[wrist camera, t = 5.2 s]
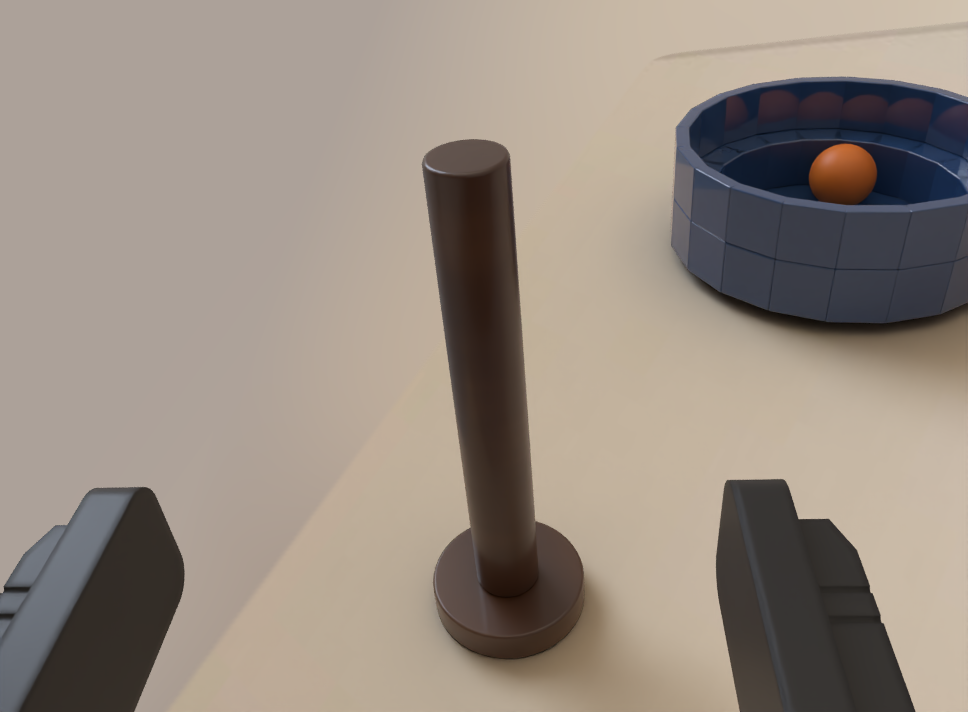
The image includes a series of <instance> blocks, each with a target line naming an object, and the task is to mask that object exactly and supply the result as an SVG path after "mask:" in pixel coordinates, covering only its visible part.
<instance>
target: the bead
mask: <svg viewBox="0 0 968 712" xmlns="http://www.w3.org/2000/svg"><path fill="white" fill-rule="evenodd" d="M876 179H877V168H876V164H875V162H874V160H873V158H872V156H871V155H870V154H869V153H868V152H867V151H866V150H864V149H863V148H861V147H859V146H856V145H853V144H839V145H835V146H832V147H829V148H828V149H826V150H824V151H823V152H822V153H821V154H820V155H819V156H818V157H817V158H816V159H815V160H814V162H813V164H812V166H811V169H810V173H809V184H810V188H811V190H812V193H813V194H814V196H815V197H816V198H817V199H818V200H819V201H820V202H827V203H834V204H842V205H856V204H858V203H860V202H861V201H863V200H864V199H865V198H866V197H867V196H868V195H869V194H870V193H871V191H872V190H873V188H874V185H875V183H876Z"/></svg>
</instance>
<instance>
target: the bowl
mask: <svg viewBox="0 0 968 712" xmlns="http://www.w3.org/2000/svg"><path fill="white" fill-rule="evenodd" d="M839 144H853V145H856V146H859V147H861V148H863V149H864V150H866V151H867V152H868V153H869V154H870V155H871V156H872V158H873V160H874V162H875V164H876V168H877V179H876V183H875V185H874V188H873V190H872V191H871V193H870V194H869V195H868V196H867V197H866V198H865V199H864V200H863V201H861V202H860V203H858V204H856V205H842V204H834V203H827V202H820V201H819V200H818V199H817V198H816V197H815V196H814V194H813V193H812V190H811V188H810V184H809V173H810V169H811V166H812V164H813V162H814V160H815V159H816V158H817V157H818V156H819V155H820V154H821V153H822V152H823V151H824V150H826V149H828V148H829V147H832V146H835V145H839ZM671 245H672V247H673V249H674V250H675V252H676V253H677V255H678V256H679V258H680V259H681V261H682V262H683V264H684V265H685V267H686V268H687V270H689V271H690V272H691V273H693V274H694V275H696V276H697V277H699V278H700V279H701V280H703V281H704V282H706V283H707V284H709V285H710V286H712V287H713V288H714V289H716V290H717V291H719V292H722V293H723V294H726V295H729V296H731V297H734V298H736V299H739V300H742V301H744V302H747V303H749V304H752V305H755V306H757V307H760V308H762V309H765V310H769V311H772V312H777V313H782V314H787V315H793V316H798V317H803V318H809V319H814V320H819V321H826V322H845V323H891V322H897V321H904V320H910V319H916V318H922V317H929V316H935V315H939V314H943V313H945V312H947V311H950V310H952V309H954V308H957V307H959V306H961V305H964V304H966V303H968V97H965V96H962V95H959V94H956V93H953V92H950V91H947V90H943V89H939V88H933V87H928V86H923V85H917V84H912V83H907V82H901V81H895V80H883V79H870V78H857V77H812V78H794V79H787V80H780V81H772V82H765V83H758V84H752V85H749V86H745V87H742V88H738V89H735V90H731V91H728V92H724V93H721V94H718V95H716V96H714V97H712V98H710V99H708V100H707V101H705V102H703V103H701V104H699V105H697V106H696V107H694V108H692V109H691V110H690V111H689V112H688V113H687V114H686V116H685V117H684V118H683V119H682V121H681V122H680V123H679V124H678V125H677V127H676V132H675V152H674V171H673V191H672V210H671Z"/></svg>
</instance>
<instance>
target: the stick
mask: <svg viewBox="0 0 968 712" xmlns="http://www.w3.org/2000/svg"><path fill="white" fill-rule="evenodd" d="M422 168H423V176H424V183H425V191H426V198H427V206H428V213H429V221H430V228H431V235H432V243H433V250H434V257H435V265H436V273H437V280H438V288H439V295H440V303H441V310H442V317H443V325H444V332H445V340H446V347H447V355H448V362H449V370H450V377H451V385H452V392H453V400H454V407H455V414H456V422H457V429H458V437H459V444H460V452H461V459H462V467H463V474H464V481H465V489H466V496H467V504H468V511H469V519H470V526H471V528H469V529H467V530H466V531H464V532H463V533H461V534H460V535H458V536H457V537H456V538H455V539H453V540H452V541H451V542H450V543H449V545H448V546H447V547H446V548H445V550H444V551H443V552H442V554H441V556H440V558H439V560H438V562H437V565H436V567H435V572H434V579H433V585H434V593H435V599H436V604H437V609H438V613H439V617H440V619H441V621H442V623H443V625H444V627H445V628H446V630H447V631H448V632H449V633H450V634H451V636H452V637H453V638H454V639H456V640H457V641H458V642H459V643H460V644H462V645H463V646H465V647H466V648H468V649H470V650H472V651H474V652H477V653H479V654H482V655H486V656H490V657H496V658H520V657H525V656H530V655H533V654H537V653H539V652H541V651H544V650H546V649H548V648H550V647H551V646H553V645H555V644H556V643H558V642H559V641H560V640H562V639H563V638H564V637H565V636H566V635H567V634H568V633H569V632H570V630H571V629H572V628H573V626H574V625H575V624H576V622H577V620H578V618H579V616H580V614H581V611H582V608H583V603H584V572H583V566H582V562H581V559H580V557H579V555H578V553H577V551H576V549H575V548H574V546H573V545H572V544H571V543H570V542H569V541H568V539H567V538H566V537H564V536H563V535H562V534H561V533H559V532H558V531H556V530H555V529H553V528H551V527H549V526H547V525H545V524H542V523H539V522H536V521H535V511H534V497H533V482H532V468H531V453H530V439H529V424H528V410H527V395H526V381H525V366H524V352H523V337H522V323H521V308H520V294H519V279H518V265H517V250H516V236H515V222H514V207H513V193H512V178H511V164H510V154H509V152H508V150H507V149H506V148H505V147H504V146H503V145H501V144H499V143H496V142H493V141H488V140H477V139H475V140H474V139H471V140H460V141H454V142H450V143H446V144H443V145H440V146H438V147H436V148H434V149H432V150H430V151H429V152H428V153H427V154H426V155H425V156H424V158H423V162H422Z"/></svg>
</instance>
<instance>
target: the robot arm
mask: <svg viewBox="0 0 968 712" xmlns="http://www.w3.org/2000/svg"><path fill="white" fill-rule="evenodd" d="M716 578H717V590H718V598H719V604H720V609H721V614H722V619H723V625H724V630H725V635H726V641H727V646H728V651H729V657H730V662H731V667H732V672H733V678H734V683H735V688H736V694H737V699H738V704H739V709H740V712H915V709H914V706H913V703H912V701H911V698H910V695H909V692H908V690H907V687H906V684H905V681H904V679H903V676H902V673H901V670H900V668H899V665H898V662H897V659H896V657H895V654H894V651H893V648H892V646H891V643H890V640H889V637H888V635H887V632H886V629H885V626H884V624H883V623H881V619H880V616H881V615H880V613H879V610H878V607H877V604H876V602H875V599H874V596H873V593H870V585H869V582H868V580H867V577H866V574H865V571H864V569H863V566H862V563H861V560H860V558H859V555H858V552H857V550H856V549H855V548H854V546H853V545H852V544H851V543H850V542H849V541H848V540H847V539H846V538H845V536H844V535H843V534H842V533H841V532H840V531H839V530H838V529H837V528H836V526H835V525H834V524H833V523H832V522H831V521H830V520H829V519H798V516H797V513H796V510H795V506H794V503H793V500H792V497H791V493H790V490H789V487H788V485H787V483H786V482H785V480H783V479H771V480H727V481H726V483H725V486H724V493H723V502H722V511H721V519H720V528H719V536H718V545H717V554H716ZM183 586H184V563H183V558H182V555H181V553H180V551H179V549H178V546H177V544H176V542H175V539H174V537H173V535H172V532H171V530H170V528H169V525H168V523H167V521H166V518H165V516H164V514H163V512H162V509H161V507H160V505H159V503H158V500H157V498H156V496H155V494H154V493H153V491H152V490H151V489H149V488H146V487H134V488H133V487H130V488H94V489H92V490H91V491H89V492H88V493H87V494H86V495H85V497H84V498H83V500H82V502H81V503H80V505H79V506H78V508H77V510H76V512H75V513H74V515H73V517H72V518H71V520H70V522H69V523H68V525H61V526H60V525H57V526H54V527H53V528H52V529H51V530H50V531H49V532H48V533H47V534H46V535H44V536H43V537H42V538H41V539H40V540H39V541H38V542H37V543H36V544H35V545H33V546H32V547H31V548H30V549H29V550H28V551H27V552H26V553H25V554H24V555H23V556H22V558H21V560H20V561H19V563H18V564H17V566H16V568H15V569H14V571H13V573H12V574H11V576H10V577H9V579H8V581H7V582H6V584H5V585H4V592H3V593H0V712H134V711H135V708H136V706H137V703H138V701H139V698H140V696H141V694H142V691H143V689H144V687H145V684H146V682H147V679H148V677H149V674H150V672H151V670H152V667H153V665H154V662H155V660H156V657H157V655H158V653H159V650H160V648H161V645H162V643H163V640H164V638H165V635H166V633H167V631H168V628H169V626H170V624H171V621H172V619H173V616H174V614H175V612H176V609H177V607H178V604H179V602H180V599H181V595H182V592H183Z"/></svg>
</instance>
